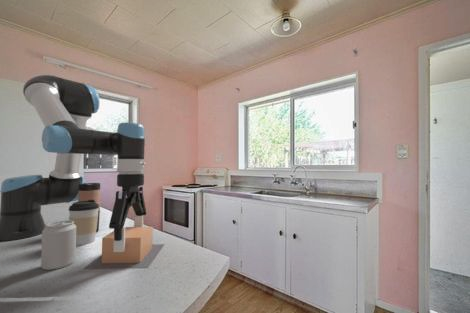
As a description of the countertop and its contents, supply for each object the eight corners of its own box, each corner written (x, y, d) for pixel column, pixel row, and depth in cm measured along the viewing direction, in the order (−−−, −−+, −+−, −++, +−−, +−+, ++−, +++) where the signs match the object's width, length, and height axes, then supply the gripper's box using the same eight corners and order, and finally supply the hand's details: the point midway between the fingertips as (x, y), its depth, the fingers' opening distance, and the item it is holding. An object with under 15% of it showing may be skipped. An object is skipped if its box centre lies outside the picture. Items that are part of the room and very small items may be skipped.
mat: (114, 246, 74) (114, 245, 74) (164, 246, 75) (164, 244, 75) (82, 271, 57) (82, 269, 57) (147, 270, 58) (147, 267, 58)
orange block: (119, 248, 71) (120, 227, 72) (152, 248, 72) (152, 226, 72) (101, 263, 61) (102, 238, 61) (140, 262, 61) (140, 237, 62)
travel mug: (102, 231, 91) (104, 183, 92) (82, 236, 85) (83, 185, 85) (93, 228, 95) (95, 182, 96) (73, 233, 89) (75, 184, 89)
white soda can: (36, 275, 55) (38, 227, 56) (45, 263, 62) (47, 220, 62) (72, 268, 59) (74, 224, 59) (77, 258, 65) (78, 218, 66)
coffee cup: (82, 249, 72) (83, 204, 72) (60, 247, 74) (61, 202, 74) (104, 240, 81) (105, 199, 81) (83, 238, 83) (84, 198, 83)
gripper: (125, 174, 55) (123, 260, 54) (155, 171, 80) (155, 230, 79) (94, 175, 55) (92, 261, 54) (134, 172, 79) (134, 230, 79)
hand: (129, 242), depth 66 cm, fingers open, 13 cm apart
